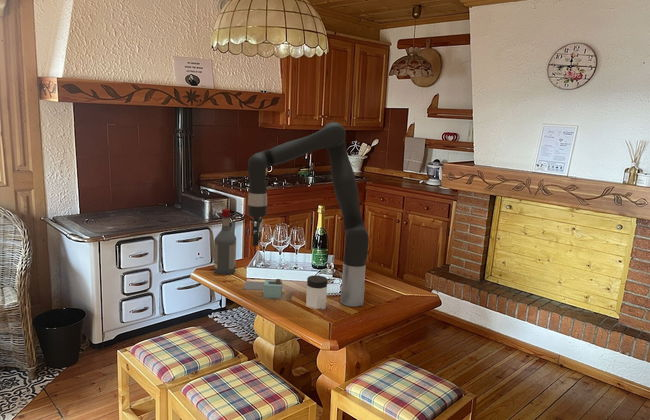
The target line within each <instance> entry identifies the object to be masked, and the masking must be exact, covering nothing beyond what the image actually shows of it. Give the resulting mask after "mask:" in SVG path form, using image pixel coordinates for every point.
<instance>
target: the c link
mask: <svg viewBox="0 0 650 420" xmlns="http://www.w3.org/2000/svg"><path fill="white" fill-rule="evenodd" d="M264 282H265V283H264V290H263V294H264V295H263V294H262V297H263V298H279V299H281V294H282V292H283V280H281V284H280V285H277V284H276V279H275V280H273V279H272V280H271V279H265V280H264Z"/></svg>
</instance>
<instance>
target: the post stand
mask: <svg viewBox="0 0 650 420" xmlns="http://www.w3.org/2000/svg"><path fill="white" fill-rule="evenodd" d="M275 280H276V284H277V285H280V284H281V281H282V280H281V279H280V278H276V279H275ZM263 295H264V293H263V294H262V297H261V299H262V300H270V301H271V300H272V301H274V300H275V301H290V302H291V301H292V300H293V299H292V297H293V291H282V294H281V299H279V298H263Z"/></svg>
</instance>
